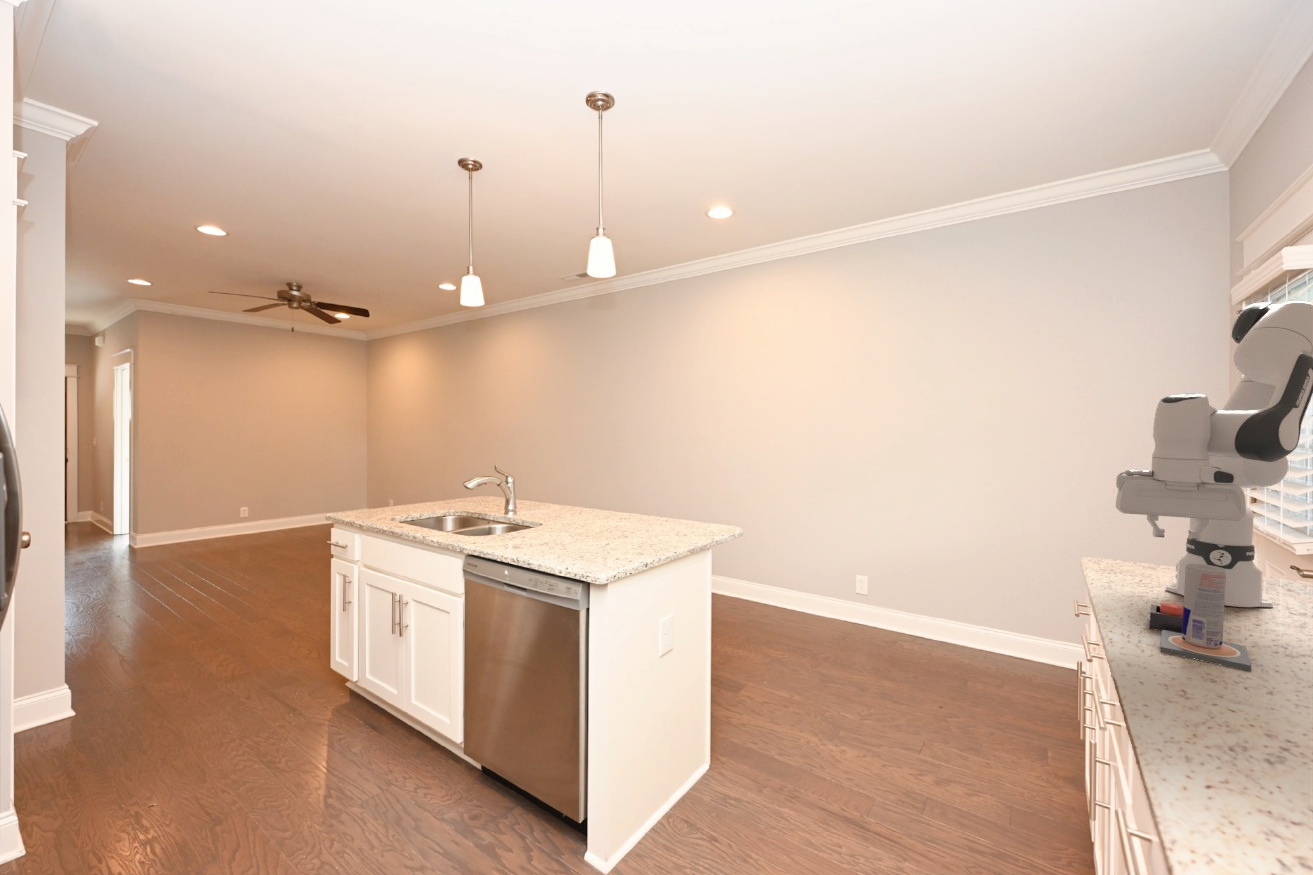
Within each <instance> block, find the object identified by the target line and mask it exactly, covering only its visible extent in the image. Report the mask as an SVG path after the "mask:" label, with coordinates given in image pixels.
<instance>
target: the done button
mask: <svg viewBox="0 0 1313 875" xmlns="http://www.w3.org/2000/svg"><path fill="white" fill-rule="evenodd" d="M1159 606H1160V613H1164V614H1169V615H1175V616H1181V617H1183V607H1184V605H1180V604H1177V603H1171V602H1160V605H1159Z"/></svg>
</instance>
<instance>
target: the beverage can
mask: <svg viewBox="0 0 1313 875" xmlns="http://www.w3.org/2000/svg"><path fill="white" fill-rule="evenodd" d="M1186 566H1187V567H1186V569H1185V588H1184V596H1183V606H1184V607H1183V626H1182V639H1183V640H1184V641H1186V642H1188V643H1190V644H1192V645H1195V646H1199V647H1203V648H1210V649H1215V648H1220V647H1222V641H1223V637H1224V622H1225V621H1224V620H1225V619H1224V617H1225V605H1224V604H1225V586H1226V573H1225V572H1226V570H1225V569H1224V568H1220V567H1217V566H1212V565H1205V564H1194V563H1191V564H1186Z"/></svg>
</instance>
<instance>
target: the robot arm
mask: <svg viewBox="0 0 1313 875" xmlns="http://www.w3.org/2000/svg"><path fill="white" fill-rule="evenodd" d="M1231 338H1232V340H1233V341H1234V342H1235V343H1236V344H1238V345H1237V346H1236V348H1235V351H1234V354H1233V363H1234V365H1235V367H1236V369H1237V371H1239V372H1240V374H1242V375H1243V377H1242V378H1241V379H1240V381H1239V383H1238V384H1237V385H1236V387H1235V389H1234V390H1233V392H1232V393H1231V395H1230V397H1229V398H1228V400H1227V402H1226V403H1225V406H1223V409H1222V410H1219V409H1217V408H1215V407H1213V406H1211V404H1210V402H1209V398H1208V395H1205V394H1201V393H1183V394H1173V395H1168V396H1165V397H1163V398H1161V399H1160V400H1159V401H1158V403H1157V406H1156V409H1155V413H1154V420H1153V427H1152V428H1153V431H1152V432H1153V433H1152V437H1153V441H1154V450H1153V452H1152V455H1151V470H1133V469H1129V470H1125V471H1123V472H1120V473H1119V474H1117V477H1116V482H1115V483H1116V488H1117V489H1118V490H1117V495H1116V500H1115V509H1117V510H1118V511H1119V512H1120V513H1122V514H1128V515H1139V516H1141V515H1142V516H1146V520H1147V521H1148V524H1150V526H1151V528H1152V536H1153V537H1155V538H1165V529H1164V528H1162V527H1159V525H1158V523H1157V522H1158V521H1159V518H1160V517H1170V518H1172V517H1174V518H1175V517H1176V518H1184V519H1186V518H1187V519H1189V529H1188V532H1187V533H1188V535H1187V538H1186V543H1185V546H1186V548H1185V549H1186V550H1185V551H1186V552H1187V553H1186V554H1185V555H1184V556H1182V557H1181V558H1180V559H1178V560H1177V562H1176V565H1175V572H1176V574H1175V580H1174V581H1173V582H1171V583H1169V584H1168V585H1166V587H1165V590H1166V591H1167V592H1170V593H1175V594H1177V595H1181V596H1182V597H1184V588H1185V569H1186V567H1187V566H1186V564H1191V563H1194V564H1205V565H1212V566H1217V567H1220V568H1224V569H1225V570H1226V572H1225V573H1226V586H1225V604H1224V606H1227V607H1228V606H1229V607H1238V608H1258V607H1259V608H1273V607H1274V605H1273V604H1274V603H1273V602H1272V601H1271V600H1269V599H1268V598H1266V597H1265V596H1263V570H1261V568H1259V567H1258V566H1257V565H1256V564H1255V563H1254V562H1253V561H1254V560H1255V555H1256V550H1255V545H1254V544H1253V536H1254V535H1253V534H1254V518H1255V516H1254V512H1253V510H1252V509H1251V508H1250V507H1249V505H1247V504H1246V501H1247V500H1246V497H1245V495H1246V494H1245V492H1244V490H1243V489H1255V488H1265V487H1266V488H1267V487H1272V486H1275V485H1277V484H1279V483H1280V482H1282V480H1284V479H1285V477H1286V475H1287V473H1288V471H1289V460H1288V458H1287V457H1288V456H1289V455H1290V454H1291V453H1293V452H1294V451H1295V449H1297V447H1298V444H1299V442H1300V437H1301V436H1300V435H1301V428H1302V423H1303V420H1304V418H1305V415H1306V412H1307V410H1308V407H1309V405H1310V402H1311V400H1312V397H1313V303H1311V302H1307V301H1301V300H1299V301H1298V300H1297V301H1296V300H1295V301H1288V302H1283V303H1281V304H1273V303H1272V302H1258V303H1253V304H1250V305H1248V306H1246V307H1245V308H1244V309H1243V310H1242V311H1241V312H1239V314H1238V315H1236V318H1235V319H1234V321H1233V324H1232V327H1231Z"/></svg>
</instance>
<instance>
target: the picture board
mask: <svg viewBox="0 0 1313 875" xmlns="http://www.w3.org/2000/svg"><path fill="white" fill-rule="evenodd" d="M1160 635H1161V637H1160V648H1159V649H1160V650H1159V652H1160V653H1164V654H1170V655H1172V654H1174V655H1173V656H1177V655H1178V656H1179V657H1182V656H1185V657H1184V658H1186V657H1188V658H1187V659H1191V658H1195V659H1194V660H1196V659H1197V661H1200V660H1203V661H1202V662H1205V661H1207V662H1206V663H1210V662H1212V663H1211V664H1215V665H1219V664H1221V665H1220V666H1225V667H1230V668H1234V669H1238V670H1242V669H1243V670H1244V671H1248V672H1252V663H1251V660H1250V656H1249V653H1248V650H1247V646H1246V645H1243V644H1238V643H1232V642H1228V641H1223V640H1222V647H1220V648H1215V649H1210V648H1203V647H1199V646H1195V645H1192V644H1190V643H1188V642H1186V641H1184V640H1183V639H1182V633H1177V632H1172V631H1167V630H1162V631H1161V634H1160Z"/></svg>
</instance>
